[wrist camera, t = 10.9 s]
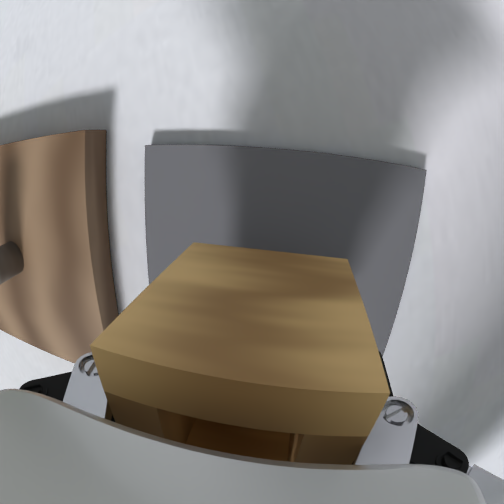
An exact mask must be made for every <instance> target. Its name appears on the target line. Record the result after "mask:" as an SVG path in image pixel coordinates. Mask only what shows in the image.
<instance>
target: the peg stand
mask: <svg viewBox="0 0 504 504" xmlns="http://www.w3.org/2000/svg"><path fill="white" fill-rule="evenodd" d="M118 316H119V315H118V309H117V302H116V295H115V288H114V281H113V273H112V264H111V255H110V245H109V233H108V218H107V199H106V130H82V131H74V132H67V133H61V134H55V135H49V136H43V137H38V138H32V139H27V140H22V141H18V142H13V143H9V144H4V145H0V330H2V331H4V332H6V333H8V334H10V335H12V336H14V337H16V338H18V339H20V340H22V341H24V342H26V343H28V344H31V345H33V346H35V347H37V348H39V349H41V350H44V351H46V352H48V353H51V354H53V355H55V356H58V357H60V358H63V359H65V360H67V361H70V362H72V363H76V361H77V359H79V358H80V357H81V356H83V355H84V354H87V353H90V352H92V351H91V348H90V345H91V343H92V342H93V341H94V340H95V339H96V338H97V337H98V336H99V335H100V334H101V333H102V332H103V331H104V330H105V329H106V328H107V327H108V326H109V325H110V324H111V323H112V322H113V321H114V320H115V319H116V318H117V317H118Z"/></svg>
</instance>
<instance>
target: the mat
mask: <svg viewBox="0 0 504 504" xmlns="http://www.w3.org/2000/svg"><path fill="white" fill-rule="evenodd" d="M425 177H426V170H424V169H419V168H414V167H409V166H404V165H399V164H393V163H388V162H382V161H376V160H370V159H363V158H356V157H349V156H342V155H335V154H326V153H318V152H309V151H299V150H288V149H276V148H263V147H246V146H224V145H145V224H146V246H147V263H148V276H149V285H150V284H151V283H152V282H153V281H154V280H155V279H156V278H157V277H158V276H159V275H160V274H161V273H162V272H163V271H164V270H165V269H166V268H167V267H168V266H169V265H170V264H171V263H172V262H173V261H175V260H176V259H177V258H178V257H179V256H180V255H181V254H182V253H183V252H184V251H185V250H186V249H187V248H188V247H189V246H190V245H191V244H193V243H194V242H196V243H205V244H214V245H224V246H233V247H242V248H251V249H261V250H270V251H279V252H288V253H297V254H306V255H316V256H325V257H334V258H343V259H348V262H349V264H350V267H351V270H352V273H353V275H354V278H355V281H356V284H357V287H358V289H359V292H360V295H361V298H362V301H363V304H364V307H365V310H366V313H367V316H368V319H369V322H370V325H371V328H372V332H373V335H374V338H375V341H376V345H377V348H378V351H380V352H381V355H382V356H383V353H384V351H385V348H386V345H387V342H388V339H389V336H390V333H391V330H392V327H393V323H394V320H395V317H396V314H397V310H398V307H399V303H400V300H401V296H402V293H403V289H404V285H405V281H406V278H407V274H408V270H409V265H410V261H411V257H412V252H413V248H414V243H415V238H416V233H417V228H418V223H419V217H420V211H421V205H422V199H423V192H424V185H425Z"/></svg>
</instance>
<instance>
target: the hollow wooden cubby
mask: <svg viewBox="0 0 504 504" xmlns="http://www.w3.org/2000/svg"><path fill="white" fill-rule="evenodd" d="M90 348H91V351H92V355H93V358H94V362H95V365H96V368H97V371H98V375H99V378H100V381H101V384H102V387H103V390H104V393H105V395H106V398H107V400H108V403H109V406H110V408H111V411H112V414H113V417H114V419H115V422H116V423H118V424H121V425H124V426H127V427H129V428H132V429H135V430H138V431H142V432H145V433H148V434H151V435H155V436H158V437H161V438H165V439H169V440H172V441H176V442H180V443H184V444H188V445H192V446H196V447H200V448H205V449H210V450H214V451H219V452H224V453H230V454H236V455H241V456H248V457H255V458H262V459H269V460H278V461H288V462H299V463H314V464H342V465H352V463H353V461H354V460H355V458H356V456H357V454H358V452H359V450H360V449H361V447H362V445H363V444H364V443H365V441H366V439H367V437H368V436H369V434H370V432H371V430H372V428H373V426H374V425H375V423H376V421H377V419H378V417H379V415H380V413H381V411H382V409H383V407H384V405H385V403H386V401H387V399H388V397H389V395H390V390H389V387H388V383H387V379H386V376H385V372H384V368H383V365H382V361H381V358H380V355H379V351H378V348H377V345H376V341H375V338H374V335H373V332H372V328H371V325H370V322H369V319H368V316H367V313H366V310H365V307H364V304H363V301H362V298H361V295H360V292H359V289H358V287H357V284H356V281H355V278H354V275H353V273H352V270H351V267H350V264H349V262H348V259H343V258H334V257H325V256H316V255H306V254H297V253H288V252H279V251H270V250H261V249H251V248H242V247H233V246H224V245H214V244H205V243H196V242H194V243H193V244H191V245H190V246H189V247H188V248H187V249H186V250H185V251H184V252H183V253H182V254H181V255H180V256H179V257H178V258H177V259H176V260H175V261H173V262H172V263H171V264H170V265H169V266H168V267H167V268H166V269H165V270H164V271H163V272H162V273H161V274H160V275H159V276H158V277H157V278H156V279H155V280H154V281H153V282H152V283H151V284H150V285H149V286H148V287H147V288H146V289H145V290H144V291H143V292H142V293H141V294H140V295H139V296H138V297H137V298H136V299H135V300H134V301H133V302H132V303H131V304H130V305H129V306H128V307H127V308H126V309H125V310H124V311H123V312H122V313H121V314H120V315H119V316H118V317H117V318H116V319H115V320H114V321H113V322H112V323H111V324H110V325H109V326H108V327H107V328H106V329H105V330H104V331H103V332H102V333H101V334H100V335H99V336H98V337H97V338H96V339H95V340H94V341H93V342H92V343H91V345H90Z"/></svg>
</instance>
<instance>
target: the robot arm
mask: <svg viewBox="0 0 504 504" xmlns="http://www.w3.org/2000/svg"><path fill="white" fill-rule="evenodd" d="M379 355H380V358H381V361H382V365H383V368H384V372H385V376H386V379H387V383H388V387H389V390H390V395H389V397H388V399H387V401H386V403H385V405H384V407H383V409H382V411H381V413H380V415H379V417H378V419H377V421H376V423H375V425H374V426H373V428H372V430H371V432H370V434H369V436H368V437H367V439H366V441H365V443H364V444H363V445H362V447H361V449H360V450H359V452H358V454H357V456H356V458H355V460H354V461H353V463H352V465H342V464H314V463H299V462H288V461H278V460H269V459H262V458H255V457H248V456H241V455H236V454H230V453H224V452H219V451H214V450H210V449H205V448H200V447H196V446H192V445H188V444H184V443H180V442H176V441H172V440H169V439H165V438H161V437H158V436H155V435H151V434H148V433H145V432H142V431H138V430H135V429H132V428H129V427H127V426H124V425H121V424H118V423H116V422H115V419H114V417H113V414H112V411H111V408H110V406H109V403H108V400H107V398H106V395H105V393H104V390H103V387H102V384H101V381H100V378H99V375H98V371H97V368H96V365H95V362H94V358H93V355H92V352H90V353H87V354H84V355H83V356H81V357H80V358H79V359H77V361H76V363H75V365H74V368H73V371H72V372H68V373H64V374H60V375H55V376H50V377H46V378H41V379H36V380H32V381H29V382H27V383H25V384H23V385H22V386H21V387H20V389H4V390H0V504H504V480H503V479H501V478H499V477H497V476H495V475H493V474H491V473H490V472H488V471H486V470H484V469H482V468H480V467H478V466H477V465H475V464H474V466H473V467H471V466H469V462H468V459H467V457H466V455H465V454H464V453H463V452H462V451H461V450H460V449H458V448H456V447H455V446H453V445H451V444H450V443H448V442H446V441H445V440H443V439H441V438H440V437H438V436H436V435H435V434H433V433H432V432H430V431H428V430H427V429H425V428H424V427H422V426H420V425H419V424H417V423H418V411H417V408H416V407H415V406H414V404H413V403H411V402H410V401H409V400H407V399H404V398H402V397H396V396H393V393H392V390H391V386H390V382H389V379H388V375H387V372H386V368H385V365H384V361H383V358H382V355H381V352H380V351H379Z"/></svg>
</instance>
